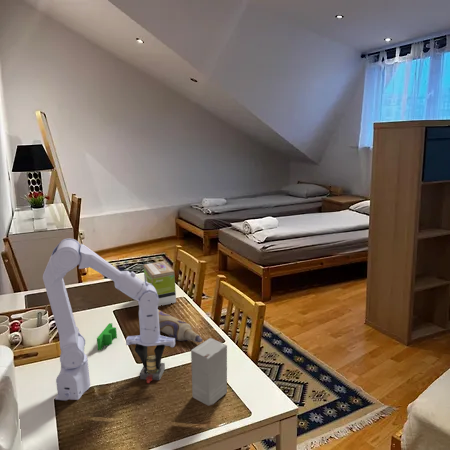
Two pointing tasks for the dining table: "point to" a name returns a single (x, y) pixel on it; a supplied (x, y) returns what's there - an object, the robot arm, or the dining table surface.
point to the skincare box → (209, 371)
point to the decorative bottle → (177, 328)
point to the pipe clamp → (106, 336)
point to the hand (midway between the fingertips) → (152, 366)
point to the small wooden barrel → (151, 364)
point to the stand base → (152, 373)
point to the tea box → (161, 281)
